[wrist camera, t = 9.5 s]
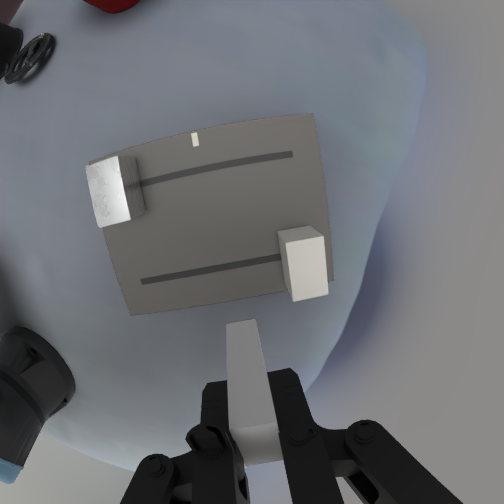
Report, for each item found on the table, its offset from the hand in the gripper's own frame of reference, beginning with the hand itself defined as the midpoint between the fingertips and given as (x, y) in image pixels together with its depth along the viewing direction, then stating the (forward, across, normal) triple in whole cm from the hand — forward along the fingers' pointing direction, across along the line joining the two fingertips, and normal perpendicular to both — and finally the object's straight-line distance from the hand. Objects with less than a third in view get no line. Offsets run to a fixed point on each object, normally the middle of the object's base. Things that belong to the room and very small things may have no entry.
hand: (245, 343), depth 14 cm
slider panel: (+15, -1, +4) cm, 16 cm away
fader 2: (+12, +6, 0) cm, 13 cm away
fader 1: (+12, -8, +9) cm, 17 cm away
